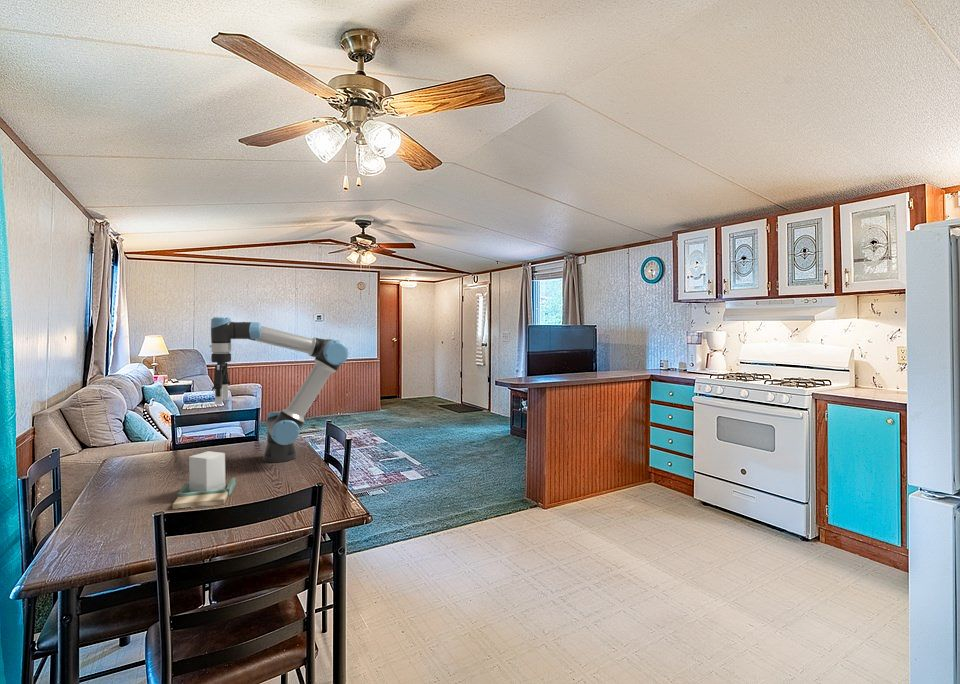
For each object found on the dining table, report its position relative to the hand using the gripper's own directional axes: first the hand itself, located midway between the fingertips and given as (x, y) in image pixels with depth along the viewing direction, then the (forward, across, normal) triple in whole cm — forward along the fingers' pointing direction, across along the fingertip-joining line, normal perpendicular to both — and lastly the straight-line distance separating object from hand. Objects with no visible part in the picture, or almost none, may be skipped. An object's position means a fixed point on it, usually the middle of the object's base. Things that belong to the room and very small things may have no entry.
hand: (221, 401), depth 203 cm
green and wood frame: (+32, +28, -1) cm, 42 cm away
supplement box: (+32, +24, -1) cm, 40 cm away
